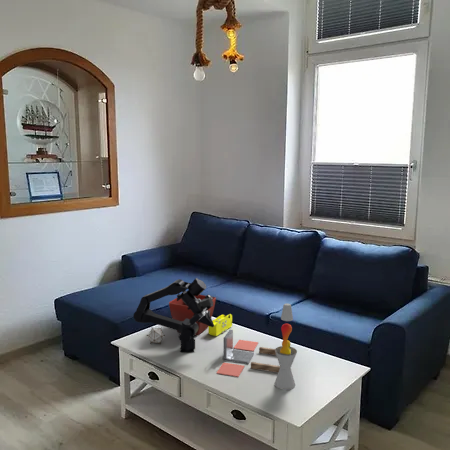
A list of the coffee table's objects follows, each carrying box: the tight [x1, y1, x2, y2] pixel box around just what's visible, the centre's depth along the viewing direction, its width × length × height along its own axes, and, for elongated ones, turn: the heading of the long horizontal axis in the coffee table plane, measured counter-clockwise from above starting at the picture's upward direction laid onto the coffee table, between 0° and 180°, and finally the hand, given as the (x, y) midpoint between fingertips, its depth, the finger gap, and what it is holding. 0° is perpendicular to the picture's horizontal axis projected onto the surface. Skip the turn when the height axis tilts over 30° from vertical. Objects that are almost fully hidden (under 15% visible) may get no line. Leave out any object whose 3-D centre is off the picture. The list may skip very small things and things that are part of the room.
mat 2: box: [233, 339, 259, 352], centre depth 230 cm, size 10×10×1 cm
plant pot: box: [168, 294, 217, 337], centre depth 248 cm, size 19×19×17 cm
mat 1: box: [215, 362, 245, 378], centre depth 206 cm, size 10×10×1 cm
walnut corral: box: [250, 346, 280, 373], centre depth 213 cm, size 15×17×2 cm
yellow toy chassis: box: [207, 313, 233, 337], centre depth 248 cm, size 16×6×8 cm, turn 148°
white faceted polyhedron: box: [146, 326, 166, 345], centre depth 233 cm, size 9×8×10 cm
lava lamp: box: [274, 303, 298, 391], centre depth 191 cm, size 9×9×35 cm
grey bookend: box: [222, 329, 255, 365], centre depth 217 cm, size 12×10×11 cm
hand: (213, 326), depth 220 cm, fingers closed
